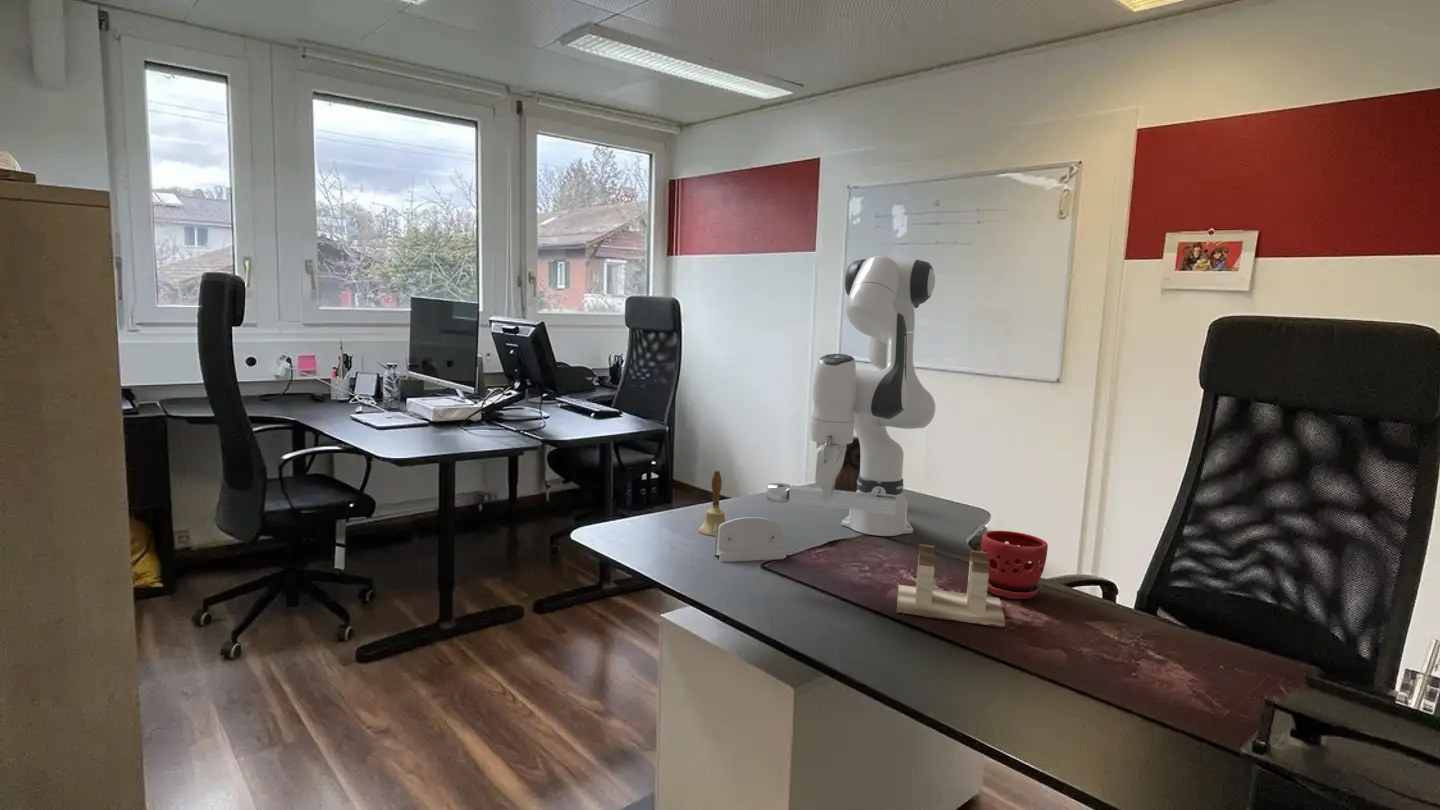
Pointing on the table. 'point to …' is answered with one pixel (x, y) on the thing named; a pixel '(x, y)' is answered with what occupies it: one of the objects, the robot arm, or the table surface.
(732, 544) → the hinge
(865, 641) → the table surface
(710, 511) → the hand bell
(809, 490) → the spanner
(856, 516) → the robot arm
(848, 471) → the owl
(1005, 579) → the plant pot
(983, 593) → the tool rest
